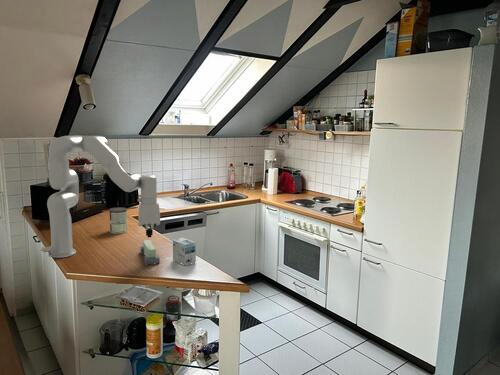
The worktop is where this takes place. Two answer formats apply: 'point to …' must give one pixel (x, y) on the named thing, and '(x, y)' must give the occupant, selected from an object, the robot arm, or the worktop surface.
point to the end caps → (150, 260)
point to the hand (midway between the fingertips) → (149, 236)
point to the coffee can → (118, 220)
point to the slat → (149, 249)
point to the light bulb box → (184, 251)
